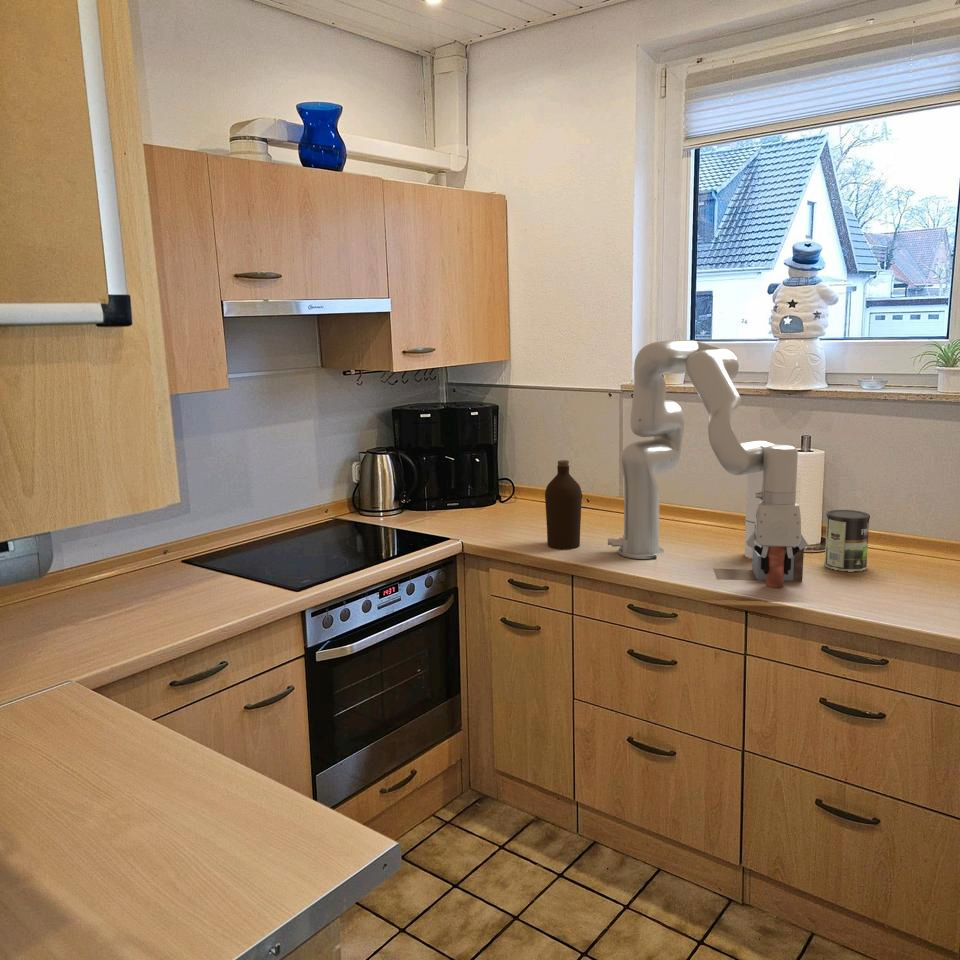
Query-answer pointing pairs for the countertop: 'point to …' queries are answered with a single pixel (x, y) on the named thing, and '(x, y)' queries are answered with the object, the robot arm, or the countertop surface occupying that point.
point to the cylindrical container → (752, 507)
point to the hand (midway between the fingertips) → (775, 572)
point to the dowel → (775, 567)
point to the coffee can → (847, 540)
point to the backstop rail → (749, 575)
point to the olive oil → (563, 509)
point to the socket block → (760, 574)
